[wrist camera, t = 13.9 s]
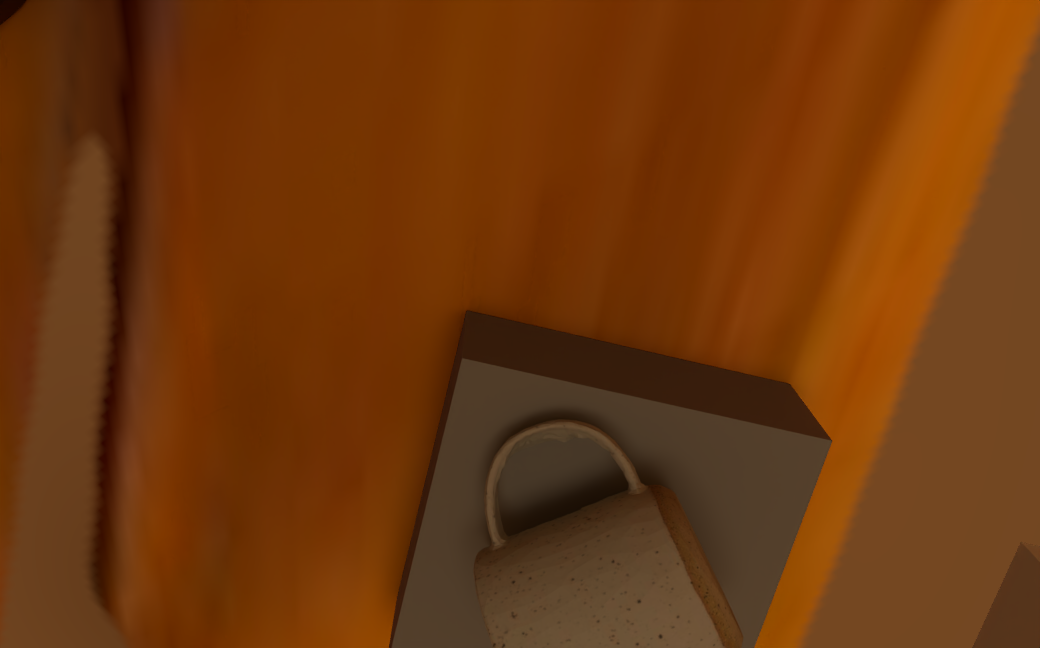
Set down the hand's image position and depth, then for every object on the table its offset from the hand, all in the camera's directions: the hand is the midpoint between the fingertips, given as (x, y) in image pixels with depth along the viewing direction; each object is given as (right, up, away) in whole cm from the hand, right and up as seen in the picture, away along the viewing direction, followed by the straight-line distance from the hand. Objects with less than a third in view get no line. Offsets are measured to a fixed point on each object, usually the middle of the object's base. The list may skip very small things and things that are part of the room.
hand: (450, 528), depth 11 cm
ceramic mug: (+3, -6, +29) cm, 30 cm away
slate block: (+4, -6, +35) cm, 36 cm away
